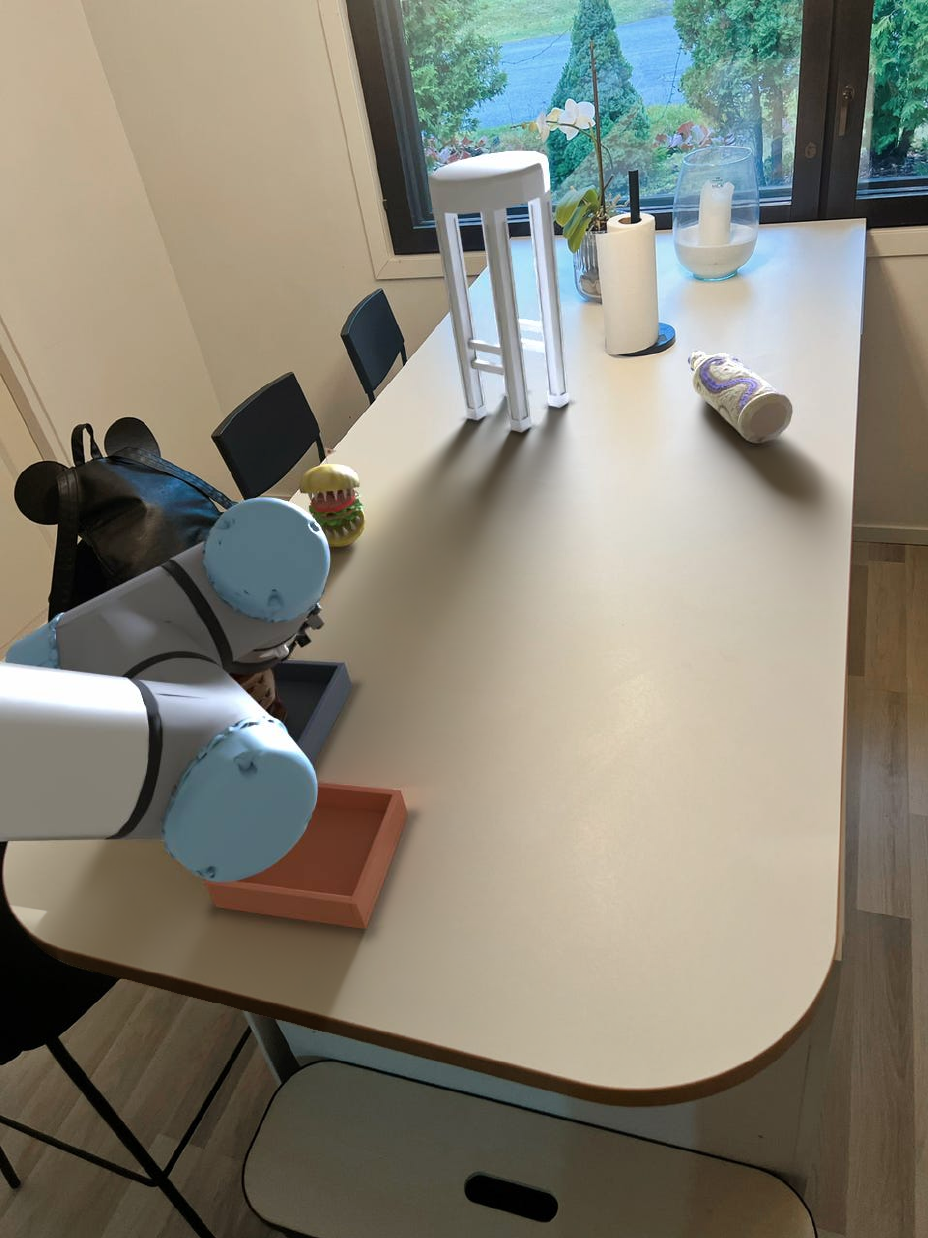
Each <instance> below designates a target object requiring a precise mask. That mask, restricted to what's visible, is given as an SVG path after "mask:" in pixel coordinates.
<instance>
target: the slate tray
mask: <svg viewBox="0 0 928 1238" xmlns="http://www.w3.org/2000/svg"><path fill="white" fill-rule="evenodd" d="M273 670H274V681H275V684H276V687H277V689H278V697H279V699H280V700H281V702H282V704H283V705H284V708H285V710H286V712H287V717H286V719H285V723H284V724H283V725H284V726H285V728H286V729H287V732H288V735H289V736H290V737H291V738H292V740H293V741H294V742H295V743H296V744H297V746H298V747H299V748H300V749H301V751H302V752H303V753H304V754H305V756H306V757H307V758H308V760H309V761H310V763H311V764H312V766H313V767H314V764H315V763H316V761H317V759H318V756H319V755H320V752H321V750H322V748H323V747H324V744H325V742H326V741H327V738H328V737H329V735H330V733H331V731H332V729H333V727H334V725H335V722H336V721H337V718H338V717H339V714H340V713H341V710H342V708H343V707H344V705H345V703H346V700H347V699H348V697H349V694H350V693H351V691H352V689H353V683H352V680H351V677H350V673H349V670H348V667H347V663H346V662H342V661H325V660H324V661H322V660H306V659H305V660H304V659H287V660H285V661H283V662H282V663H281V662H279V663H277V664H276V665H275V666H273Z"/></svg>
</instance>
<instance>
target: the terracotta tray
mask: <svg viewBox="0 0 928 1238" xmlns="http://www.w3.org/2000/svg"><path fill="white" fill-rule="evenodd" d="M317 790H318V792H317V801H316V805H315V809H314V811H313V812H312V818H311V819H310V820H309V821H308V824H307V827H306V830H305V832H304V833H303V835H302V836H301V838H300V839H299V840H298V842H297V843H296V844H295V845H294V846H293V848H292V849H291V850H290V851H289V852H288V853H287V854H286V855H285V856H284V857H282V858H281V859H280V860H279V861H278V862H276V863H275V864H273V865H272V866H270V867H269V868H267V869H265V870H264V871H262V872H260V873H257V874H255V875H252V876H250V877H247V878H245V879H242V880H237V881H232V882H213V881H208V880H206V879H205V878H204V881H203V885H204V888H205V889H206V892H207V893H208V895H209V896H210V898H211V900H212V902H213V903H214V905H215V907H216V908H219V909H226V910H233V911H239V912H246V913H253V914H260V915H267V916H273V917H280V918H287V919H294V920H301V921H308V922H314V923H320V924H321V923H323V924H329V925H335V926H342V927H347V928H356V929H362V930H366V929H367V927H368V925H369V922H370V919H371V917H372V914H373V911H374V909H375V906H376V903H377V901H378V898H379V896H380V893H381V890H382V888H383V884H384V882H385V879H386V877H387V874H388V871H389V869H390V865H391V863H392V860H393V858H394V855H395V852H396V849H397V847H398V844H399V843H400V842H399V841H400V839H401V836H402V834H403V830H404V828H405V825H406V822H407V820H408V817H409V812H408V809H407V806H406V803H405V798H404V795H403V792H402V790H401V789H396V788H395V789H394V788H386V787H375V786H363V785H354V784H343V783H333V782H322V781H317Z"/></svg>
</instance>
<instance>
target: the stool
mask: <svg viewBox="0 0 928 1238" xmlns="http://www.w3.org/2000/svg"><path fill="white" fill-rule="evenodd" d="M547 157H548V156H546V155H545V154H542V153H540V152H537V151H535V150H509V151H503V152H493V153H486V154H481V155H477V156H473V157H468V158H463V159H460V160H457V161H454V162H451V163H448V164H445V165H443V166H440V167H438V168H437V169H436V170H435V171H433V172H432V173H431V174H430V175H429V176H428V178H427V181H428V182H427V183H428V189H429V196H430V201H431V207H432V213H433V218H434V219H433V220H434V225H435V231H436V237H437V238H436V239H437V243H438V249H439V256H440V261H441V267H442V273H443V279H444V285H445V286H444V287H445V292H446V298H447V303H448V309H449V315H450V321H451V322H450V323H451V327H452V333H453V338H454V345H455V352H456V358H457V364H458V369H459V376H460V381H461V382H460V383H461V387H462V393H463V399H464V406H465V412H466V418H467V419H470V420H474V421H479V420H481V419H483V418H485V417H486V416H487V415H488V409H487V402H486V397H485V391H484V390H485V389H484V384H483V377H482V372H486V373H490V374H495V375H499V376H502V381H503V387H504V395H505V396H506V405H507V412H508V418H509V425H510V430H511V431H515V432H518V433H523V432H525V431H526V430H528V429H530V428H531V427H532V426H533V425H532V415H531V407H530V401H529V391H528V383H527V374H526V367H525V365H526V364H525V358H524V357H525V356H524V350H525V351H530V352H536V353H540V354H542V355H543V363H544V373H545V382H546V391H547V402H548V406H550V407H554V408H558V409H560V408H563V406H565V405H566V404H568V403H569V402H570V396H569V386H568V375H567V364H566V352H565V341H564V328H563V317H562V307H561V296H560V286H559V285H560V284H559V283H560V282H559V273H558V261H557V249H556V238H555V227H554V226H555V225H554V216H553V205H552V203H553V202H552V194H551V182H550V171H549V170H550V169H549V159H548V158H547ZM524 204H527V208H528V217H529V228H530V236H531V237H530V238H531V245H532V246H531V247H532V257H533V265H534V266H533V267H534V274H535V277H534V278H535V285H536V294H537V303H538V314H539V321H534V320H529V319H521V318H520V316H519V315H520V314H519V308H518V307H519V306H518V299H517V290H516V283H515V282H516V281H515V272H514V267H513V266H514V265H513V256H512V247H511V240H510V232H509V224H508V223H509V222H508V214H507V208H512V207H516V206H519V205H520V206H521V205H524ZM478 213H480V217H481V218H480V219H481V226H482V233H483V241H484V247H485V253H486V254H485V255H486V256H485V257H486V261H487V262H486V263H487V269H488V277H489V285H490V293H491V300H492V306H493V307H492V308H493V314H494V315H493V316H494V321H495V330H496V335H497V336H496V337H497V343H496V342H492V341H491V342H490V341H485V340H480V339H477V338H476V331H475V323H474V317H473V310H472V303H471V297H470V290H469V283H468V277H467V269H466V263H465V257H464V250H463V245H462V243H463V242H462V237H461V230H460V223H459V218H458V215H469V214H478ZM521 331H528V332H532V333H538V334H540V335H541V341H536V340H532V339H531V340H530V339H525V338H522V333H521ZM479 352H483V353H488V354H492V355H497V356H499V359H500V363H497V362H491V361H487V360H483V359H480V357H479V356H480V355H479Z"/></svg>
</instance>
